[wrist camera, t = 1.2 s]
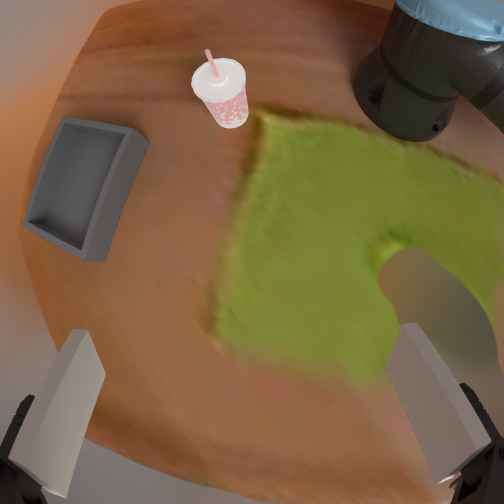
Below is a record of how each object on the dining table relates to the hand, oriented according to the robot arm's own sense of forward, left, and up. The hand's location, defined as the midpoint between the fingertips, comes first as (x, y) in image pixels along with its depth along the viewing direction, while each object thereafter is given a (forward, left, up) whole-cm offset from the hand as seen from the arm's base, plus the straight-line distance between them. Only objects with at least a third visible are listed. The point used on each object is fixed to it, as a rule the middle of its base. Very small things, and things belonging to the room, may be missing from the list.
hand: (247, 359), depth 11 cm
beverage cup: (-21, -13, -25) cm, 35 cm away
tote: (-5, -31, -25) cm, 40 cm away
